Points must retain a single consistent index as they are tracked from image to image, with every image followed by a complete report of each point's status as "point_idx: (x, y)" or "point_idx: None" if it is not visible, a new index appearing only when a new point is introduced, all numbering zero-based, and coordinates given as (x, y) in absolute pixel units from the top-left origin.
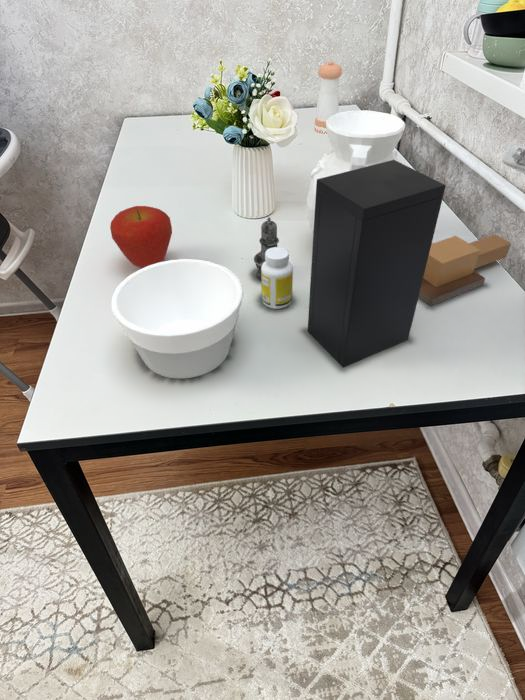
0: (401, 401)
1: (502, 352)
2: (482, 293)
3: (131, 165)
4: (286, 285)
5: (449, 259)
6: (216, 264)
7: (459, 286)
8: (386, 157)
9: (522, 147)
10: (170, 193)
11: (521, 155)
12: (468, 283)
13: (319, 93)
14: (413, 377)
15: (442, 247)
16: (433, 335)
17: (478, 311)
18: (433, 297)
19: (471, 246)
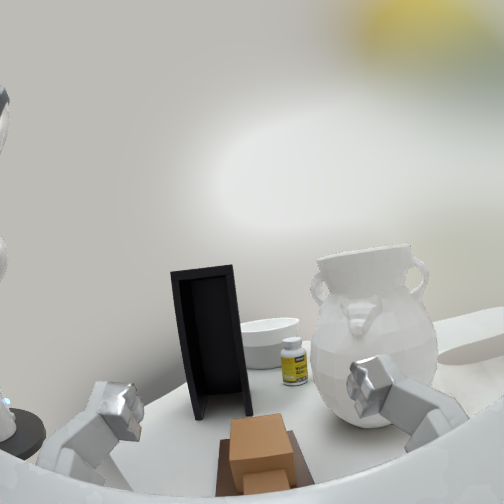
0: (157, 401)
1: (124, 450)
2: (202, 496)
3: (498, 308)
4: (281, 363)
5: (233, 426)
6: (284, 326)
7: (221, 467)
8: (341, 292)
9: (496, 403)
10: (466, 327)
11: (359, 389)
12: (219, 477)
13: None
14: (164, 410)
15: (267, 430)
16: (185, 433)
17: (178, 473)
18: (222, 441)
19: (247, 456)
